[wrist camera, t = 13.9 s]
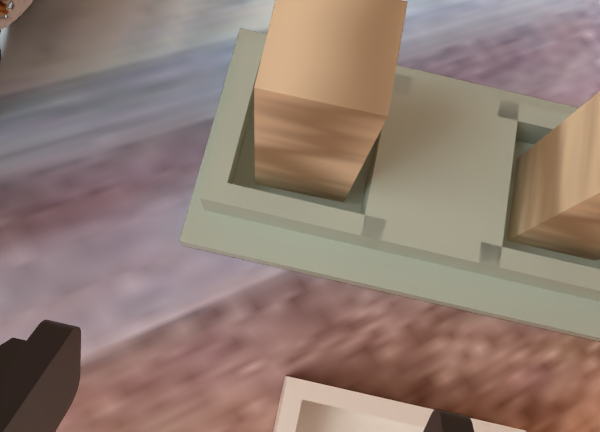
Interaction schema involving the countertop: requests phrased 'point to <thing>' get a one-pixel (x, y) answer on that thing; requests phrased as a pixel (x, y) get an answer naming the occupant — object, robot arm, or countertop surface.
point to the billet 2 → (561, 188)
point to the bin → (352, 411)
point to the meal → (12, 11)
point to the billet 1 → (324, 92)
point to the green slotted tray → (401, 203)
